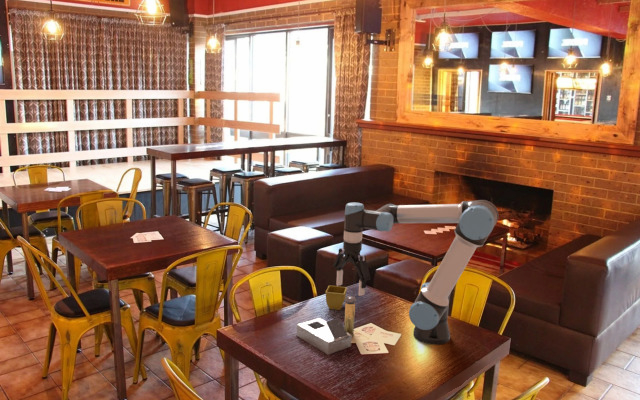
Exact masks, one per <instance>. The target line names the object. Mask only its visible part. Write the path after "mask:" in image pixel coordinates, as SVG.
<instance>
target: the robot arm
mask: <svg viewBox="0 0 640 400" xmlns="http://www.w3.org/2000/svg"><path fill="white" fill-rule="evenodd" d="M364 205H365V204H363V203H360V202H354V201H353V202H348V203H346V204H345V208H344V209H345V210H344V223H343V224H344V225H343V226H344V227H343V244H342V247H341V248H339V249H338V253H337V256H336V258H335V259H334V262H333V265H332V267H333V268H335V270H336V271H335V272H336V273H335V276H336V285H335V286H339V287H340V286H341V285H343V276H344V270H343V268H344V266H346V264H347V263H350V264H352V265H353V266H354V267H355V269H356V272H357V274H358V276H359V281H358V296H360V297H362V296H364V295H365V294H366V293H365V292H366V288H367V281H369V280H371V275H370V271H369V267H368V264H367V256H366V255H361V251H362V246H363V242H362V241H363V231H364V230H363V229H366V230H367V229H368V230H373V231H377V232H390V231H391V230H392V228H393V225H394V224H457V225H456V226H455V229H454V231H453V232H454V234H455V237H454V238H453V241H452V242H451V244H450V246H449V248H448V249H447V251H446V253H445V255H444V257H443V258H442V261H440V262H441V263H440V264H439V266H438V268H437V269H436V271H435V273H434V275H433V277H432V278H431V280H430V281H429V282H424V283H422V284H421V287H420V291H419V293H418V295H417V297H416V299H415V300H414V302H413V303H412V304H411V305H410V307H409V310H408V317H409V320H410V322H411V323H412V324H413V325H414V328H413V334H412V335H413V337H414V339H416V340H417V341H418V342H420V343H424V344H426V345H432V346H433V345H434V346H435V345H445V344H447V343H449V341H450V340H451V332H450V328H449V323H448V317H449V304H450V297H451V293H452V291H453V289H454V288H455V286H456V284H457V283H458V281H459V280H460V277H461V275H462V274H463V272H464V270H465V269H466V267H467V266H468V264H469V262H470V260H471V258H472V257H473V255H474V254H475V251H476V249H478V248H481V247H483V246H484V244H486V243H485V242H486V241H487V240H488V238H489V236H490V235H491V233H492V231H493V229H494V228H495V226H496V224H497V222H498V220H499V211H498V209H497V207H496V206H495V204H493V202H491V201H488V200H486V199H478V200H463V201H461V202H460V203H446V204H445V203H442V204H441V203H440V204H437V203H436V204H407V205H406V204H399V205H398V204H397V205H396V204H393V203H388V204H385V205H383V206H381V207H379V208H378V209H377V210H370V209H365V206H364Z"/></svg>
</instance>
